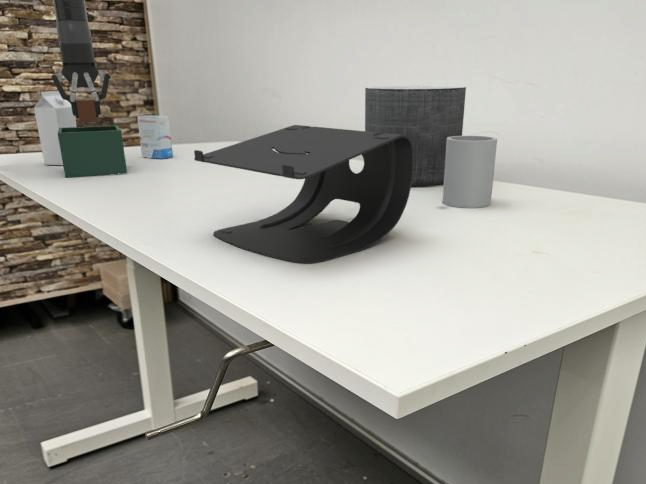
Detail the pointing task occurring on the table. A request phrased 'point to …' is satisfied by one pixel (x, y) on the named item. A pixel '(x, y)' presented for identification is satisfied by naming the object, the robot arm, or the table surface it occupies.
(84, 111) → the brown rectangular block
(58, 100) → the milk carton
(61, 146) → the bin
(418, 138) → the planter
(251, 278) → the table surface
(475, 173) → the cup
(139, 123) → the ink box
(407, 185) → the laptop stand
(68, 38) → the robot arm
